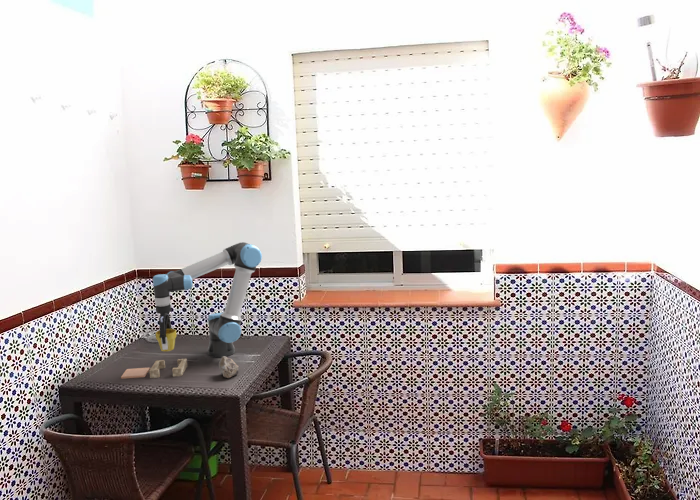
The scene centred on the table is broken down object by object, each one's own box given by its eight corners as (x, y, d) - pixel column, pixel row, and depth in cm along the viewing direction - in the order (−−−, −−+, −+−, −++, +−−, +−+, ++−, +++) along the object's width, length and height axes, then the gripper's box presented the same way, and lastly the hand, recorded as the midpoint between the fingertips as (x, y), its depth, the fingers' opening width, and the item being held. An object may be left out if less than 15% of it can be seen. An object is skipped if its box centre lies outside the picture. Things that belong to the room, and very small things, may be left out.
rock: (226, 385, 328) (238, 370, 327) (209, 370, 329) (221, 355, 328) (232, 381, 337) (244, 366, 336) (215, 366, 338) (226, 351, 337)
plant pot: (172, 352, 336) (170, 334, 334) (153, 352, 338) (151, 334, 336) (181, 346, 346) (179, 328, 344) (163, 346, 348) (161, 328, 346)
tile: (150, 369, 349) (150, 367, 349) (144, 377, 337) (144, 375, 337) (127, 370, 348) (127, 368, 348) (121, 378, 336) (120, 376, 336)
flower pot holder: (187, 365, 352) (186, 358, 351) (181, 376, 336) (181, 368, 336) (156, 367, 351) (156, 360, 350) (150, 378, 335) (149, 370, 335)
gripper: (160, 299, 349) (164, 340, 352) (150, 310, 326) (155, 353, 330) (174, 298, 349) (178, 339, 353) (165, 309, 327) (170, 352, 331)
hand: (167, 346), depth 342 cm, fingers closed on plant pot, 10 cm apart
